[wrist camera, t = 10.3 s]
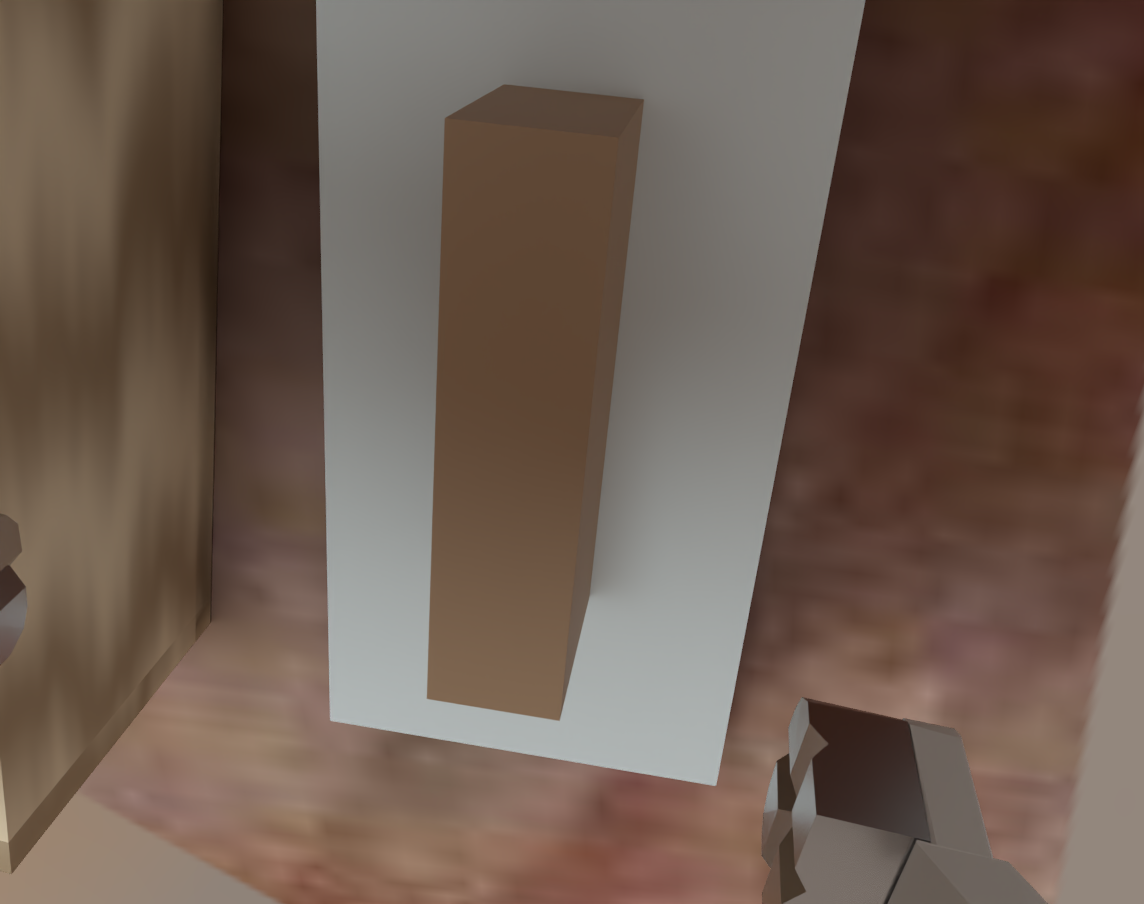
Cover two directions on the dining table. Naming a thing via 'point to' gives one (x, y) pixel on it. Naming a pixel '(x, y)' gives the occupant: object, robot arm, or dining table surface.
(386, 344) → the lid
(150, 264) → the light wooden open box
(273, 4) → the dining table surface
